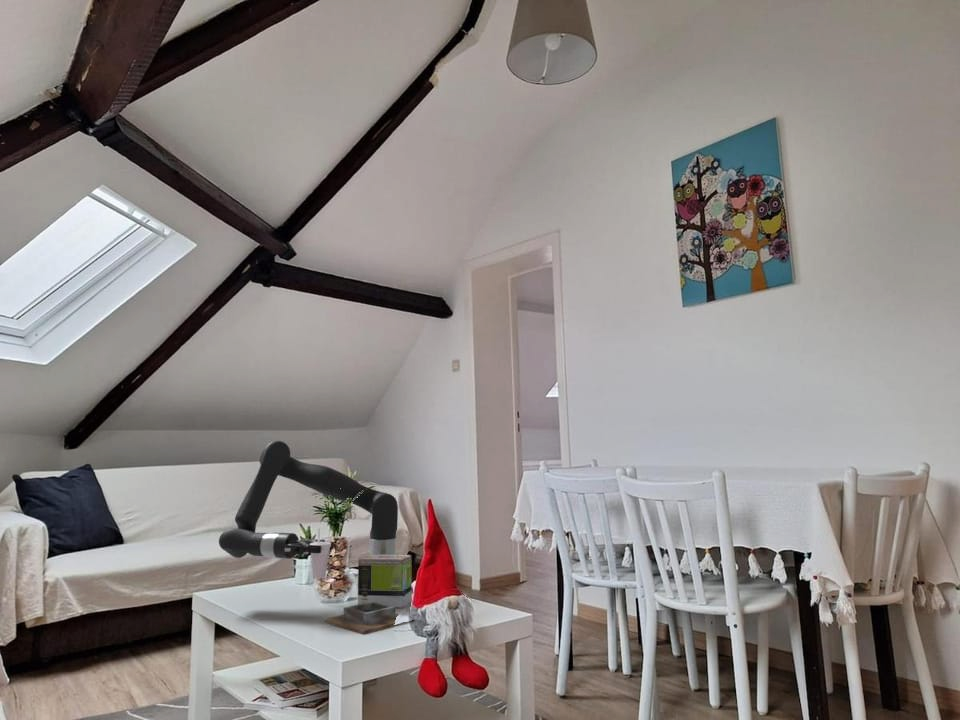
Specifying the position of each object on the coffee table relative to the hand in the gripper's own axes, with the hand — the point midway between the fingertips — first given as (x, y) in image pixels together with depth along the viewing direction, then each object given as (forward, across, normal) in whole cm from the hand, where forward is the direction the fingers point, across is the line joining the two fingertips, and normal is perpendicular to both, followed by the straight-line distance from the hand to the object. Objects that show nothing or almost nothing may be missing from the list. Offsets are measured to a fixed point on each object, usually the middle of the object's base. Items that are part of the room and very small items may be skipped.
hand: (326, 547), depth 185 cm
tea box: (+11, +18, +20) cm, 29 cm away
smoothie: (-2, 0, +9) cm, 9 cm away
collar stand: (+16, -2, +19) cm, 25 cm away
